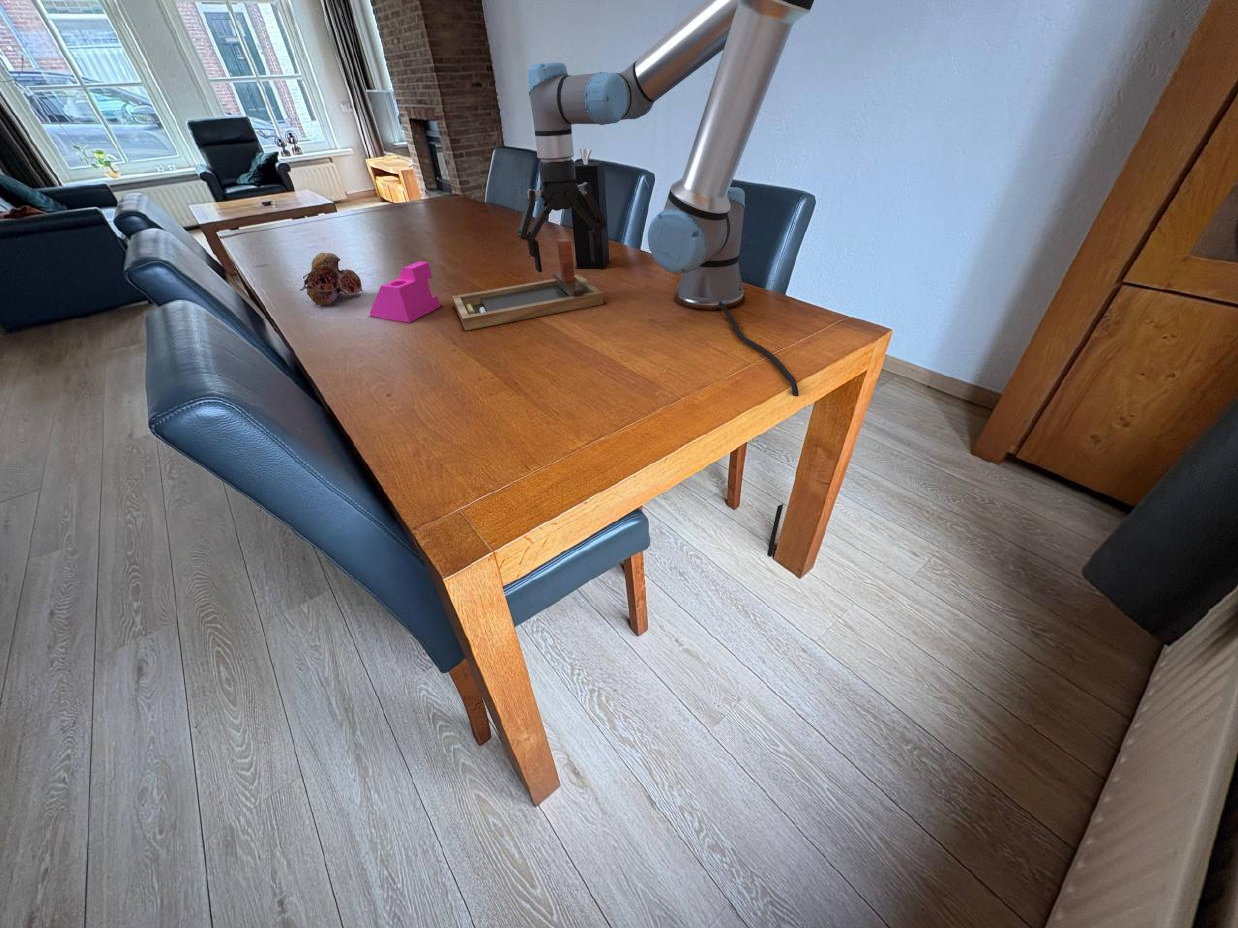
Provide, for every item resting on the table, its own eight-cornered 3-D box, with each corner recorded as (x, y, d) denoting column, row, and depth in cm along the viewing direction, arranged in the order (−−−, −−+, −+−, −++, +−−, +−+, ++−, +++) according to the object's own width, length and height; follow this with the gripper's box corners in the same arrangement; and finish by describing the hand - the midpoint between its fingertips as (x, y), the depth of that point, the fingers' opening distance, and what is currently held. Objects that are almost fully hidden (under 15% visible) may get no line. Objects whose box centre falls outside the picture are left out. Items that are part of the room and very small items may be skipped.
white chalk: (483, 320, 109) (489, 319, 110) (481, 315, 108) (487, 313, 109) (480, 313, 113) (485, 311, 113) (478, 307, 112) (484, 306, 112)
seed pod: (280, 291, 111) (340, 259, 113) (272, 259, 120) (327, 230, 122) (321, 334, 122) (375, 304, 124) (311, 302, 131) (361, 275, 133)
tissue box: (603, 269, 136) (596, 150, 119) (576, 268, 138) (565, 151, 121) (609, 260, 142) (603, 146, 125) (583, 260, 144) (573, 147, 127)
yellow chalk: (472, 317, 112) (476, 314, 111) (468, 313, 111) (472, 309, 111) (468, 310, 115) (472, 307, 115) (464, 306, 114) (469, 302, 114)
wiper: (585, 298, 113) (580, 246, 106) (573, 300, 112) (568, 248, 105) (565, 280, 124) (559, 232, 117) (554, 282, 123) (548, 234, 116)
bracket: (440, 306, 118) (428, 262, 112) (409, 322, 111) (394, 275, 104) (402, 301, 122) (389, 258, 116) (370, 316, 115) (354, 271, 109)
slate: (603, 304, 115) (602, 293, 113) (465, 330, 106) (462, 318, 104) (580, 284, 126) (580, 274, 125) (454, 307, 117) (452, 296, 116)
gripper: (605, 152, 108) (610, 254, 121) (492, 163, 101) (511, 270, 114) (618, 155, 102) (622, 261, 115) (500, 167, 95) (518, 279, 108)
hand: (567, 266), depth 114 cm, fingers open, 13 cm apart
